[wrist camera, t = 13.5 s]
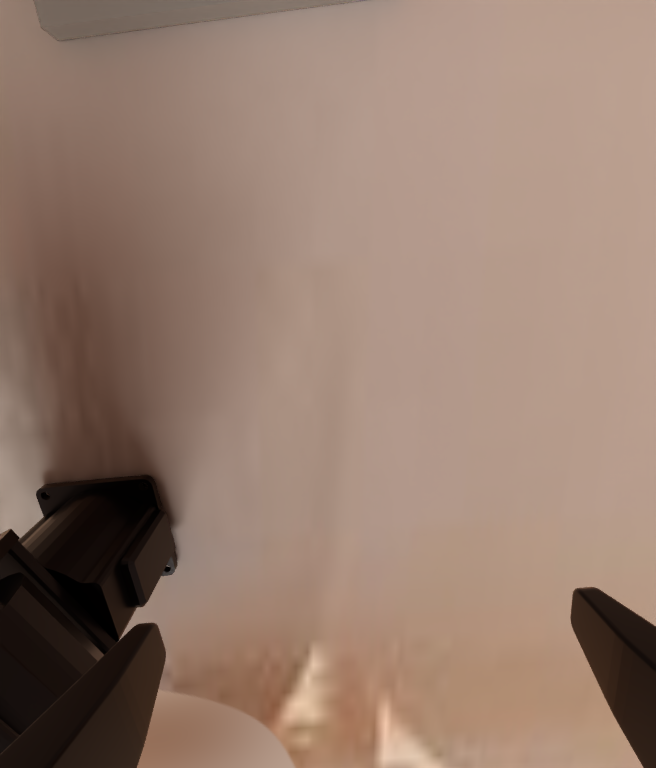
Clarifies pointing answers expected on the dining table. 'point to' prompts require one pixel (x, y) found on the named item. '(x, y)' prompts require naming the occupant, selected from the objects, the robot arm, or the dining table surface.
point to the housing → (150, 13)
